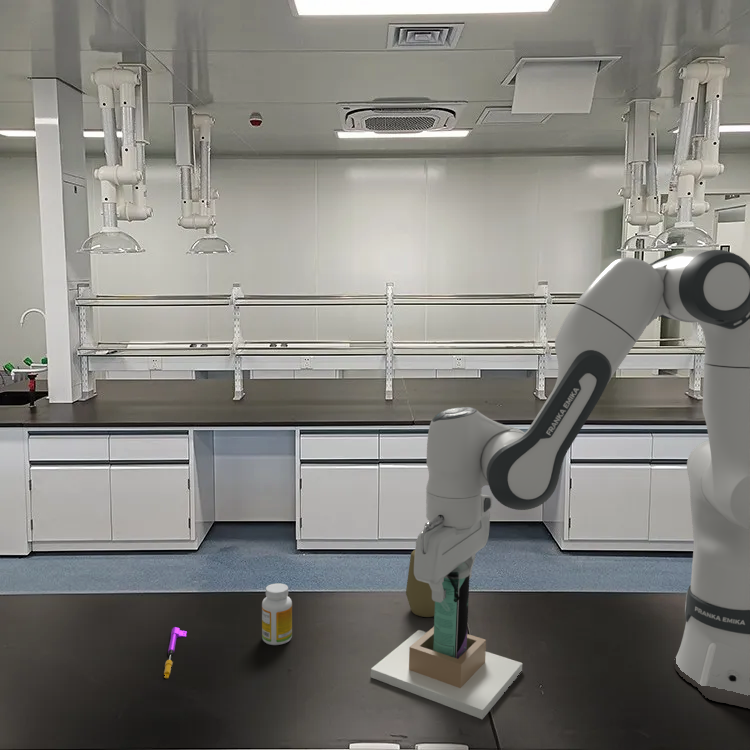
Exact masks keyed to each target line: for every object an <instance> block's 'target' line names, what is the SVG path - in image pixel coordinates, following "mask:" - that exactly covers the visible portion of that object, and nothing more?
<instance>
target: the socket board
mask: <svg viewBox="0 0 750 750" xmlns="http://www.w3.org/2000/svg"><path fill="white" fill-rule="evenodd" d="M433 645H434V626H433V627H432V628H430V629H429V630H427V631H424V630H421V629H418V630H417V631H415V632H414V633H413V634H411V635H410V636H409V637H408V638H407V639H406V640H404V641H403V642H402V643H400V645H398V646H397V647H396V648H394V649H393V650H392V651H391V652H389V653H388V654H387V655H386V656H385V657H383V659H381V660H380V661H379V662H377V663H376V664H375V665H374V666H372V667H371V668H370V678H371V679H375V680H377V681H380V682H383V683H384V684H386V685H387V684H388V685H389V686H393V687H394V688H395V687H396V688H398V689H400V690H403V691H406V692H409V693H412V694H414V695H417V696H419V697H422V698H425V699H427V700H430V701H433V702H435V703H438V704H440V705H442V706H446V707H449V708H451V709H454V710H456V711H458V712H461V713H465V714H466V715H469V716H473V717H475V718H477V719H480V720H483V719H484V718H485V717H486V716H487V714H488V713H489V712H490V711H491V710H492V709H493V707H494V706H495V705H496V704H497V702H498V701H499V700H500V699H501V697H502V696H503V695H504V692H505V693H506V691H507V690H508V689H509V688H508V687H509V686H510V687H511V685H513V683H514V682H513V681H516V680H517V678H518V677H519V676H520V674H521V673H522V672H523V663H522V662H520V661H517V660H513V659H511V658H509V657H505V656H501V655H499V654H495V653H493V652H489V651H486V650H487V639H484V638H482V637H478V636H476V635H472V634H468V633H467V651H466V652H464V653H463V654H462V655H461V656H460V657H459V658H458V659H457V658H454V657H451V656H448V655H445V654H442V653H439V652H436V651H433ZM521 671H522V672H521ZM520 672H521V673H520ZM519 673H520V674H519ZM518 675H519V676H518ZM517 676H518V677H517Z"/></svg>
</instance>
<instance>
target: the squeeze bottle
mask: <svg viewBox="0 0 750 750" xmlns="http://www.w3.org/2000/svg"><path fill="white" fill-rule="evenodd" d="M426 523H427V522H425V524H426ZM425 524H424V525H425ZM423 527H424V528H425V526H423ZM414 558H415V549H414V550H413V551H411V553H410V557H409V564H408V565H409V566H408V574H407V581H406V588H405V596H406V597H407V601H408V602H407V603H408V605H409V607H410V610H411V613H413V614H414V615H415V616H419V617H424V618H431V617H433V618H434V615H435V601H433V600H432V590H431V588H430V585H429V583H425V582H422V581H418V580H417V579H416V578H415V576H414Z"/></svg>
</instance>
